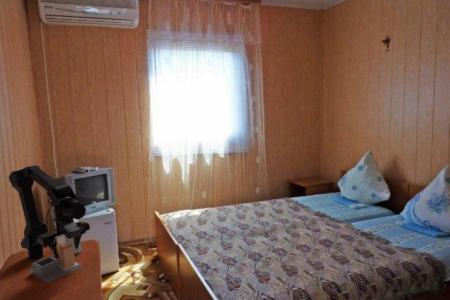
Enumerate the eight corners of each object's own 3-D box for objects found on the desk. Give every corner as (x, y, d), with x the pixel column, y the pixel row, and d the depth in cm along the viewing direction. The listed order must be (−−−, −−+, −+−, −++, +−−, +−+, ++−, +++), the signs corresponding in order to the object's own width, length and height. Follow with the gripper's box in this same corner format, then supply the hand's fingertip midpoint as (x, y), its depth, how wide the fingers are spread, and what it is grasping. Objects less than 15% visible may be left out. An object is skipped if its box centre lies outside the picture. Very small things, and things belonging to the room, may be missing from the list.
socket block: (27, 273, 122) (26, 261, 121) (63, 258, 133) (61, 247, 133) (47, 285, 113) (46, 272, 112) (83, 268, 124) (82, 256, 124)
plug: (60, 266, 124) (58, 246, 123) (70, 262, 128) (68, 242, 127) (65, 268, 122) (63, 248, 121) (75, 264, 125) (73, 244, 124)
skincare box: (82, 253, 137) (79, 221, 136) (67, 257, 134) (64, 225, 132) (79, 247, 144) (76, 216, 142) (65, 250, 141) (62, 219, 139)
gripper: (48, 227, 110) (53, 268, 112) (95, 212, 125) (99, 248, 127) (34, 221, 116) (38, 260, 119) (80, 207, 132) (84, 242, 134)
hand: (66, 252), depth 124 cm, fingers open, 8 cm apart
